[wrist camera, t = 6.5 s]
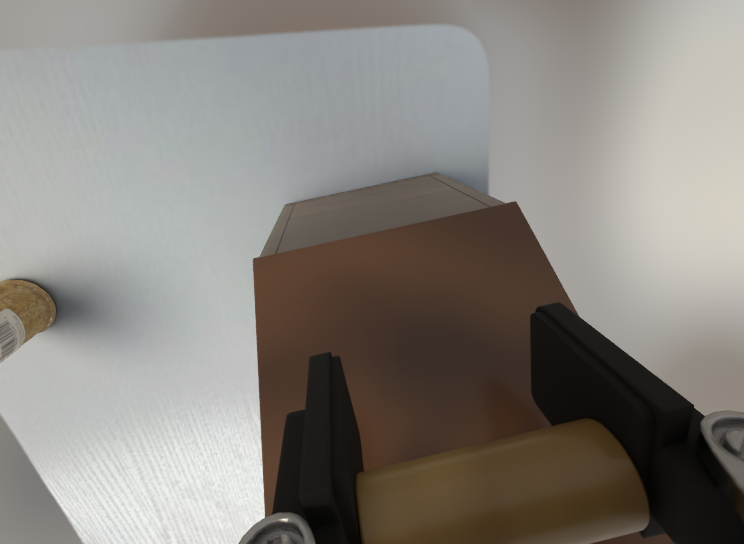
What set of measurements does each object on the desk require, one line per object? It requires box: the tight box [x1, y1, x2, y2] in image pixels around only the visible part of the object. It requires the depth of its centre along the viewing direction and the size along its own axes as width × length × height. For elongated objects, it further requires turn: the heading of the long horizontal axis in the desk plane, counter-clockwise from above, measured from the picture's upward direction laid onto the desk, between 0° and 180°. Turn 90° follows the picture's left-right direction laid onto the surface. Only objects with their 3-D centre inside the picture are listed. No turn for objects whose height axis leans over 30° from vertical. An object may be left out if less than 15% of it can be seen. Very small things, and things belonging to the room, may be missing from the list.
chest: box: [260, 172, 505, 257], centre depth 24 cm, size 12×12×12 cm
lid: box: [253, 202, 676, 544], centre depth 11 cm, size 12×12×6 cm
